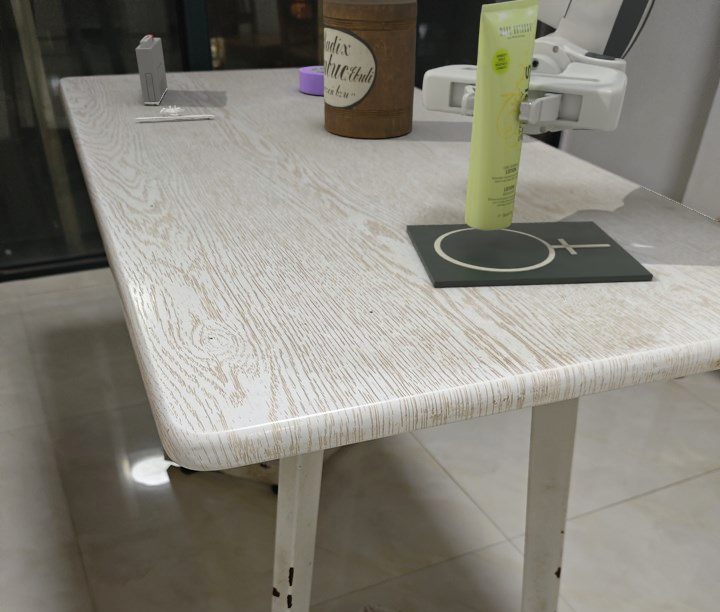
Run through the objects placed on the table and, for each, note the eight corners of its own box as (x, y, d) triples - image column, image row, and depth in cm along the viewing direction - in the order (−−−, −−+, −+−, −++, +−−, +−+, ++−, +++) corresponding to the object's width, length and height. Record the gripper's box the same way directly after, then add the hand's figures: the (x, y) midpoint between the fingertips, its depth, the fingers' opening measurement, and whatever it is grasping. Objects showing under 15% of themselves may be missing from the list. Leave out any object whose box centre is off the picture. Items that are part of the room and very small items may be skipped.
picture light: (133, 123, 119) (131, 109, 118) (131, 117, 122) (129, 104, 121) (216, 119, 123) (214, 105, 121) (212, 114, 126) (211, 100, 125)
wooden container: (308, 124, 120) (304, -35, 107) (379, 116, 127) (384, -35, 113) (355, 143, 111) (357, -29, 97) (429, 133, 117) (441, -30, 104)
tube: (512, 235, 71) (543, 3, 59) (462, 233, 72) (481, 3, 59) (511, 216, 75) (540, -4, 63) (464, 214, 76) (482, -4, 64)
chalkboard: (591, 226, 82) (593, 219, 82) (651, 280, 70) (654, 272, 69) (406, 230, 80) (406, 223, 79) (434, 287, 67) (434, 279, 67)
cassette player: (154, 89, 143) (145, 31, 137) (167, 89, 143) (160, 31, 137) (144, 105, 131) (134, 42, 124) (158, 105, 131) (150, 42, 125)
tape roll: (326, 83, 151) (326, 63, 149) (368, 91, 146) (368, 70, 143) (287, 90, 144) (287, 69, 142) (329, 99, 139) (329, 76, 136)
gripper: (451, 45, 77) (398, 61, 68) (643, 60, 70) (614, 82, 61) (446, 108, 81) (395, 133, 72) (627, 130, 74) (597, 160, 64)
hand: (497, 110), depth 66 cm, fingers closed on tube, 4 cm apart
